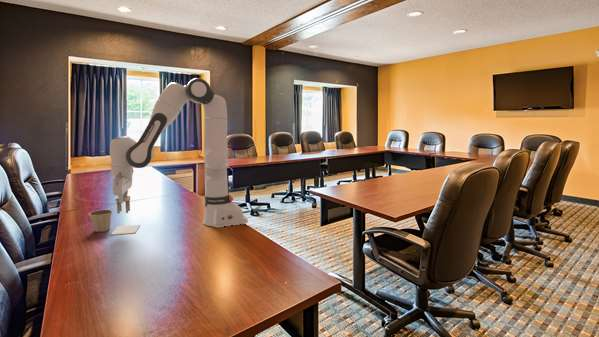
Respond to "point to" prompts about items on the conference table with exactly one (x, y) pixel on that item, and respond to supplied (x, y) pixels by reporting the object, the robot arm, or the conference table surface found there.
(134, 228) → the mat
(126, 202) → the stool
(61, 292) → the conference table surface
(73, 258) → the conference table surface
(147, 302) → the conference table surface
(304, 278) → the conference table surface
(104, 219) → the flower pot
